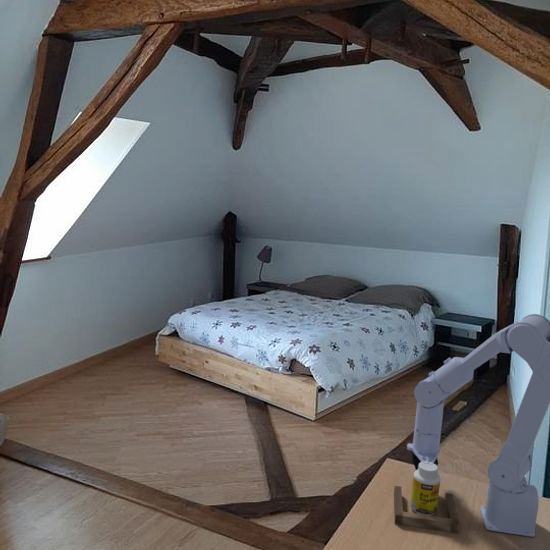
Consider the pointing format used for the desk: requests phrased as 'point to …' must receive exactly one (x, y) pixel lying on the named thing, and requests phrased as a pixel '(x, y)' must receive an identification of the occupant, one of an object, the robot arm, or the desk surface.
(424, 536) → the desk surface
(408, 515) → the wooden u-shaped block
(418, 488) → the supplement bottle
